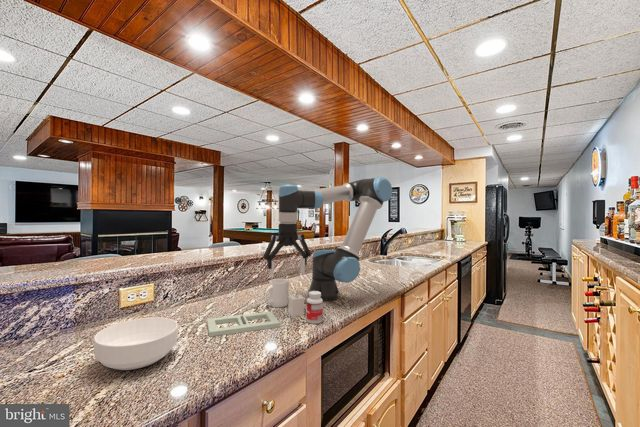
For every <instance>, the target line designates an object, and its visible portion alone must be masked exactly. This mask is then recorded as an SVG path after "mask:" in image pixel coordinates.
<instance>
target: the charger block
mask: <svg viewBox="0 0 640 427" xmlns="http://www.w3.org/2000/svg"><path fill="white" fill-rule="evenodd" d="M287 307H288V310H287V311H288V312H287V313H288V314H289V315H290V316H291V317H300V316H305V297H303V295H301V294H294V295H288V305H287Z"/></svg>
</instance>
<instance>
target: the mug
mask: <svg viewBox="0 0 640 427" xmlns="http://www.w3.org/2000/svg"><path fill="white" fill-rule="evenodd" d="M268 284H269V285H268V287H267V288H266V291H265V293H264V294H265V295H264V298H265V302H266V304H268V305H269V306H270V307H272V308H279V309H280V308H285V307H288V303H289V290H290V289H289V288H290V281H289V280H288V279H286V278H274V279H273V278H271V279H270V280H269V282H268ZM267 295H268V299H267Z"/></svg>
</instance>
